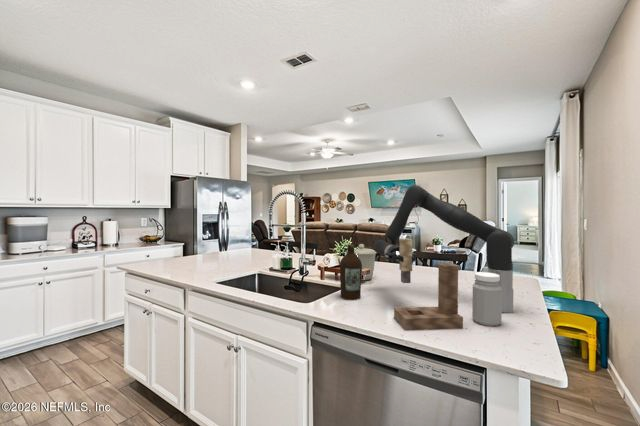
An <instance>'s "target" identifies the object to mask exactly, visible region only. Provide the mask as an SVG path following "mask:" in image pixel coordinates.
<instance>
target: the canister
mask: <svg viewBox="0 0 640 426" xmlns="http://www.w3.org/2000/svg"><path fill="white" fill-rule="evenodd" d="M357 248H358V249H357V250H356V251H354V253H355V254H356V253H358V254H357V255H358V258H359V259H360V260H361V263H362V269H364V268H370V269H371V272H370V274H368V275H366V276H365V280H364V281H368V280H372V278H373V276H374V270H375V261H376V254H378V253H377V252H375V250H374V248H373V249H372V248H365V244H363V243H360V244H358V247H357Z"/></svg>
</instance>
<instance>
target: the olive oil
mask: <svg viewBox="0 0 640 426" xmlns="http://www.w3.org/2000/svg"><path fill="white" fill-rule="evenodd" d="M354 248H355V245H354V244H347V248H346V249H347V250H346V253H345V255H343V257H342V258H341V260H340V261H339V278H340V279H339V280H340V297H341V299H343V300H349V301H350V300H351V301H354V300H355V301H356V300H359V299H360V298H361V293H362V288H361V287H362V280H361V274H362V263H361V260H360V259H359V258H358V257H357V255H356V254H355V253H354Z"/></svg>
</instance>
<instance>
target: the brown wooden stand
mask: <svg viewBox="0 0 640 426" xmlns="http://www.w3.org/2000/svg"><path fill="white" fill-rule="evenodd" d="M436 269H438V274H437V275H438V284H437V285H438V286H437V287H438V288H437V289H438V294H437V295H438V296H437V297H438V298H437V301H438V302H437V303H438V304H437V306H417V307H413V306H411V307H394V308H393V313H394V314H393V318H394V320H395V321H396V322H397V323H398V325H400V326H401V327H402V328H403V329H404V331H420V330H421V331H423V330H424V329H428V330H454V329H458V330H459V329H464V317H463V316H462V315H460V314H459V313H458V312H459V311H458V310H459V308H458V307H459V305H458V304H459V271H461V265H458V264H456V263H452V262H449V263H448V262H445V263H444V262H443V263H442V262H440V263H439V262H438V263H436Z"/></svg>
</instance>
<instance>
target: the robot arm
mask: <svg viewBox="0 0 640 426" xmlns="http://www.w3.org/2000/svg"><path fill="white" fill-rule="evenodd" d="M400 203H401V204H400V205H399V208H398V210H397V212H396V213H395V216H394V218H393V220H392V222H391V223H390V225H389V226H388V228H387V230H386V232H385V233H384V234H385V237H386V238H387V239H389V240H390V243H389V242H387V241H385V240H383V239H378V240H377V241H375V243H374V245H373V250H374V251H375V252H377V253H376V254H379V255H381V256H383V257H385V260H389V261H391V262H393V263H394V264H395V263H396V264H399V261H401V262H404V257H403V256H401V255H399V251H400V245H397V243H398V241H399V240H400V237H401V235H402V234H403V232H404V231H405V228H406V226H407V224H408V220H409V217H410V215H411V213H412V211H413V210H414V208H415V207H416V206H417V207H419V208H422V209H424V210H426V211H429V212H430V213H431V214H433V215H434V216H435V217H437V218H438V219H439V220H441V221H442V222H444V223H446V224H447V225H448V226H451V227H453V228H454V229H456V230H459V231H462V232H464V233H467V234H469V235H472V236H474V237H476V238H479V239H481V240H482V241H484V242H485V243H486V246H485V247H486V249H485V250H486V251H485V252H486V253H485V254H486V255H485V256H486V262H487V267H488V273H495V274H498V275H499V276H500V281H498V282H499V283H500V285H499V286H500V287H501V289H502V313H504V314H505V313H508V314H509V313H510V314H511V313H514V288H513V287H514V286H513V284H514V283H513V281H514V277H513V276H514V275H513V274H514V272H513V271H514V263H513V256H512V255H513V253H512V252H513V251H512V249H513V247H514V246H515V239H514V237H513V235H512V233H510V232H509V231H506V230H504V229H501V228H499V227H496V226H494V225H492V224H489V223H487V222H486V221H483V220H482V219H480V218H479V217H477V216H475V215H474V214H472V213H470V212H469V211H467V210H465V209H463V207H462V208H461V207H460V206H457V205H455V204H453V203H451V202H448V201H446V200H445V201H444V200H442V199H439V198H438V197H436V196H434V195H432V194H431V193H430V192H428V191H427V190H426V189H424V188H423V187H422V186H420V185H417V184H414V185H411V186H409V187H408V188H407V189H406V191H405V194H404V196H403V198H402V201H401V202H400ZM416 257H417V254H416V253H415V252H412V263H415V261H417V259H416Z"/></svg>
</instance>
